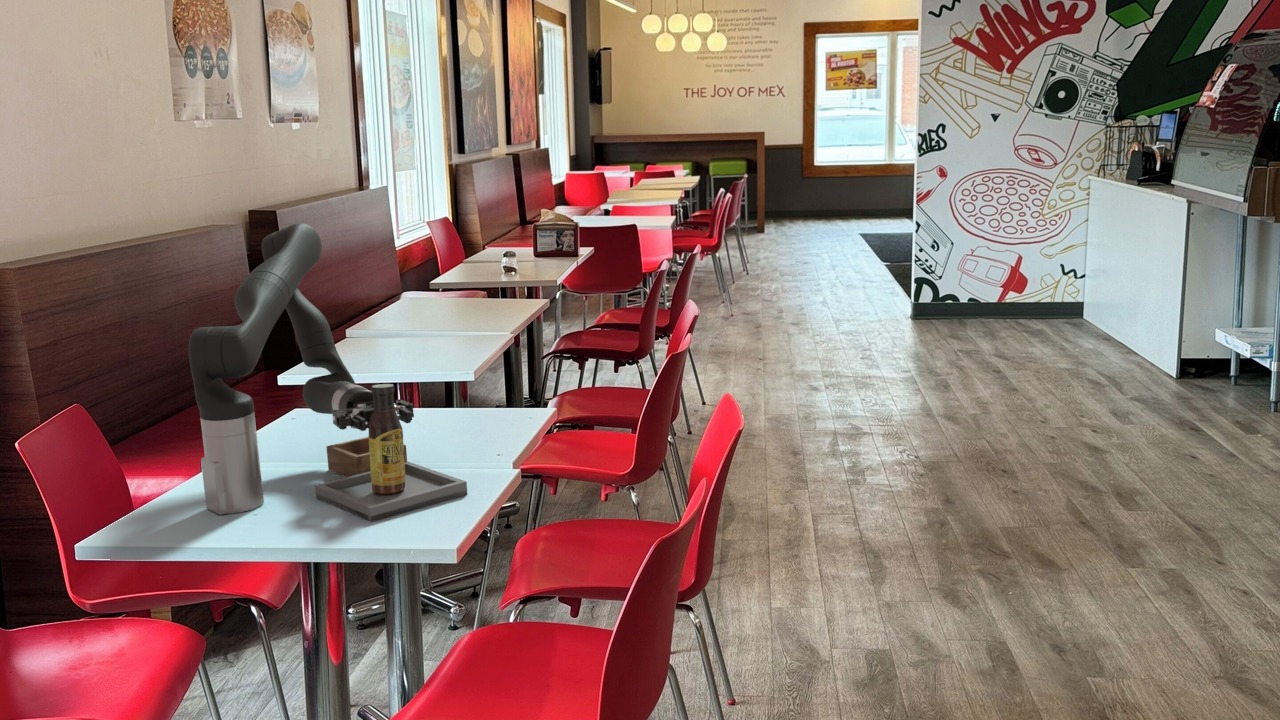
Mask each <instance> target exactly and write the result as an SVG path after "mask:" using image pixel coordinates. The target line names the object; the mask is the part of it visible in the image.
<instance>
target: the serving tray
mask: <svg viewBox="0 0 1280 720" xmlns="http://www.w3.org/2000/svg"><path fill="white" fill-rule="evenodd" d="M467 483H468V482H467V481H466V480H464V479H461V478H459V477H458V478H457V477H454V476H451V475H448V474H445V473H442V472H440V471H436V470H435V469H431V468H428V467H425V466H423V465H419V464H418V463H417V464H416V463H414V462H410V461H407V462H405V488H404V490H402V491H400V492H398V493H393V494H382V495H381V494H376V493H374V492H373V491H372V483H371V474H370V471H369V472H366V473H362V474H358V475H354V476H350V477H343V478H339V479H335V480H331V481H327V482H326V481H325V482H323V483H319V484H315V485H314V489H315V490H314V491H315V498H316V499H317V500H320V501H322V502H324V503H327V504H328V505H332V506H333V507H336V508H338V509H340V510H342V511H345V512H348V513H350V514H351V515H354V516H356V517H359V518H361V519H364V520H366V521H368V522H370V523H372V522H375V521H376V522H377V521H379V520H383V519H387V518H390V517H393V516H397V515H400V514H404V513H408V512H411V511H414V510H418V509H422V508H425V507H428V506H432V505H435V504H439V503H442V502H446V501H449V500H452V499H456V498H460V497H464V496H467V495H468V484H467Z"/></svg>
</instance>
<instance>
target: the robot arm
mask: <svg viewBox="0 0 1280 720" xmlns="http://www.w3.org/2000/svg"><path fill="white" fill-rule="evenodd" d="M322 246H323V245H322V240H321V238H320V235H319V233H318V232H317V230H316V229H315V228H314V227H313V226H311V225H309V224H307V223H303V222H300V223H294V224H291V225H288V226H286V227H284V228H281V229H279V230H277V231H274V232H272V233H270V234H268V235H267V236H265V237H264V238H263V239H262V241H261V253H262V254H261V255H262V256H263V262H262V263H260V264H259V265H258V266H256V267H255V268H254V269H252V271H250V272H249V274H248V275H247V276H246V277H245V279H243V281H242V282H241V284H240V286H239V287H238V289H237V290H236V292H235V296H234V306H235V310H236V312H237V315H238V317H239V318H240V319H241V321H242V323H240V324H238V325H229V326H228V325H227V326H226V325H225V326H203V327H197V328H195V329H194V330H193V331H192V333H191V334H190V337H189V341H188V359H189V367H190V372H191V377H192V383H193V389H194V396H195V402H196V404H197V408H198V410H199V417H200V418H199V419H200V426H201V435H202V436H201V437H202V443H203V444H202V446H203V452H204V456H203V457H201V459H200V464H201V473H202V481H203V489H204V497H205V508H206V509H208V510H210V511H211V512H214V513H215V514H217V515H219V516H222V515H226V514H238V513H242V512H247V511H251V510H254V509H256V508H260V507H261V506H262V505H264V502H265V501H264V500H265V499H264V489H263V481H262V470H261V462H260V454H259V445H258V435H257V426H256V417H255V416H256V415H255V406H254V400H253V398H252V397H251V396H250V395H249V394H247V393H244V392H242V391H239V390H236V389H234V388H233V387H230V386H229V385H227V384H226V383H225V382H224V380H223V379H233V378H235V379H236V378H243V377H246V376H248V375H250V374H251V373H252V372H253V371H254V369H255V367H256V366H257V364H258V362H259V359H260V357H261V354H262V351H263V350H264V347H265V344H266V342H267V340H268V339H269V336H270V334H271V332H272V330H273V328H274V326H275V325H276V323H277V321H278V320H279V318H280V317H281V315H282V314H283V312H284V311H285V310H286V313H287V314H288V316H289V319H290V322H291V325H292V328H293V330H294V335H295V337H296V341H297V344H298V348H299V351H300V355H301V358H302V362H303V363H304V365H305V366H306V367H308V368H321V369H325V370H326V371H328V372H329V373H330V374H329V373H328V374H325V375H319V376H315V377H312V378H310V379H308V380H307V381H306V382H305V384H304V385H303V389H302V398H303V401H304V403H305V405H306V406H307V407H308V408H309V409H310V410H311V411H313V412H314V413H318V414H325V415H331V416H332V425H335V427H337V428H338V429H340V430H346V429H347V427H350V429H353V430H354V429H356V430H359V431H361V432H365V431H367V429H368V423H369V420H370V417H371V415H372V414H373V412H374V408H373V406H374V402H373V394H372V390H369V389H368V388H366V387H364V386H361V385H358V384H356V382H355V380H354V378H353V376H352V375H351V373H350V372H349V370H348V369H347V367H346V365H345V364H344V362H343V360H342V358H341V356H340V355H339V353H338V350H337V347H336V344H335V342H334V337H333V334H332V330H331V327H330V325H329V322H328V319H327V318H326V317H325V315H324V314H323V312H321V311H320V310H319V309H318V308H317V307H316V306H315V305H314V304H313V303H311V301H309V300H308V299H307V298H306V297H305V296H304V294H303V293H302V292H301V291H300V290H299V288H298V287H299V286H300V284H301V282H302V281H303V279H304V278H305V276H306V275H307V274H308V272H310V271H311V269H313V267H314V266H315V265H316V264H317V263H319V260H320V258H321V256H322V251H323V250H322V249H323V248H322ZM394 405H395V410H396V414H397V416H398V419H399V421H402V423H403V422H404V423H405V424H410V423H411V422H412V421H413V418H415V414H414V404H413V403H412V402H411V403H410V402H408V401H406V400H403V399H396V400H395V402H394Z"/></svg>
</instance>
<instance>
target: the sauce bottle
mask: <svg viewBox="0 0 1280 720" xmlns="http://www.w3.org/2000/svg"><path fill="white" fill-rule="evenodd" d="M371 391H372V394H373V402H374V406H373V408H374V412H373V414H372V415H371V417H370V420H369V423H368V428H367V429H368V436H367V437H368V439H369V456H370V474H371V483H372V491H373V492H374V493H376V494H381V495H382V494H393V493H398V492H400V491H402V490H404V488H405V463H404V446H403V444H404V431H403V426H402V425H401V422H400V421H401V420H399V419H398V416H399V415H398V414H397V411H396V410H395V405H394V403H395V397H394V393H395V386H394V384H393V383H381V384H380V383H379V384H375V385H371Z"/></svg>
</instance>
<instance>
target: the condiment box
mask: <svg viewBox="0 0 1280 720" xmlns="http://www.w3.org/2000/svg"><path fill="white" fill-rule="evenodd" d="M403 446H404V463H405V462H408V455H407V445H406V444H404V443H403ZM325 447H326V456H327V466H328V467H327V468H328V471H330V472H333V473H334V474H337V475H341V476H343V477H344V478H346V477H350V476H354V475H358V474H362V473H366V472H369V471H370V456H369V439H368V436H364V437H362V438H361V437H360V438H357V439H353V440H347V441H343V442H339V443H334V444H330V445H327V446H325Z"/></svg>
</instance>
